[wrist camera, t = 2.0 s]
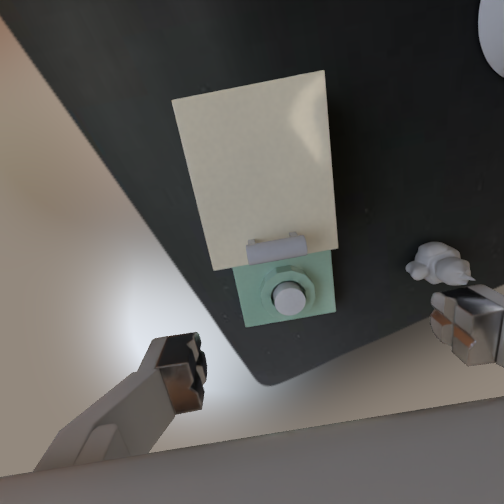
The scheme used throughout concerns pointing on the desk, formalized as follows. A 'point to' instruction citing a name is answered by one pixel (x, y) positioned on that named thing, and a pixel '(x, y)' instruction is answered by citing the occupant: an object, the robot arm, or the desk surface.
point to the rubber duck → (439, 265)
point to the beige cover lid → (261, 169)
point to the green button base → (274, 273)
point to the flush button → (289, 298)
